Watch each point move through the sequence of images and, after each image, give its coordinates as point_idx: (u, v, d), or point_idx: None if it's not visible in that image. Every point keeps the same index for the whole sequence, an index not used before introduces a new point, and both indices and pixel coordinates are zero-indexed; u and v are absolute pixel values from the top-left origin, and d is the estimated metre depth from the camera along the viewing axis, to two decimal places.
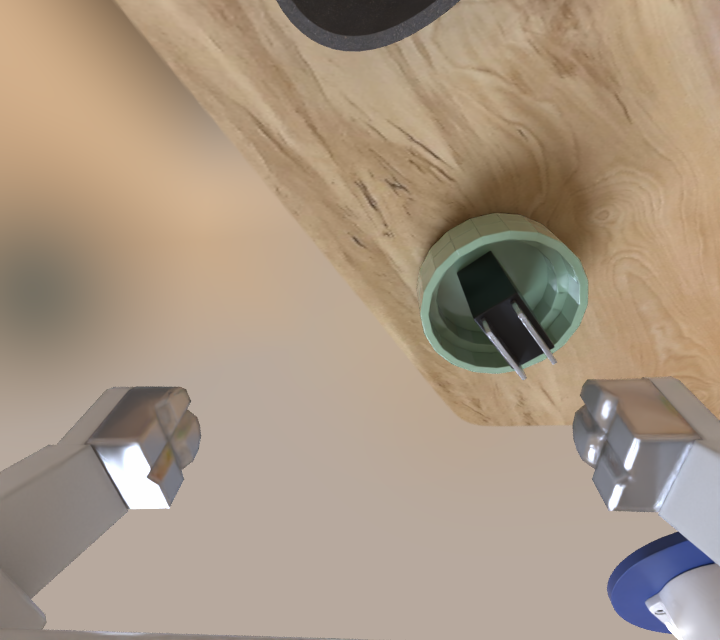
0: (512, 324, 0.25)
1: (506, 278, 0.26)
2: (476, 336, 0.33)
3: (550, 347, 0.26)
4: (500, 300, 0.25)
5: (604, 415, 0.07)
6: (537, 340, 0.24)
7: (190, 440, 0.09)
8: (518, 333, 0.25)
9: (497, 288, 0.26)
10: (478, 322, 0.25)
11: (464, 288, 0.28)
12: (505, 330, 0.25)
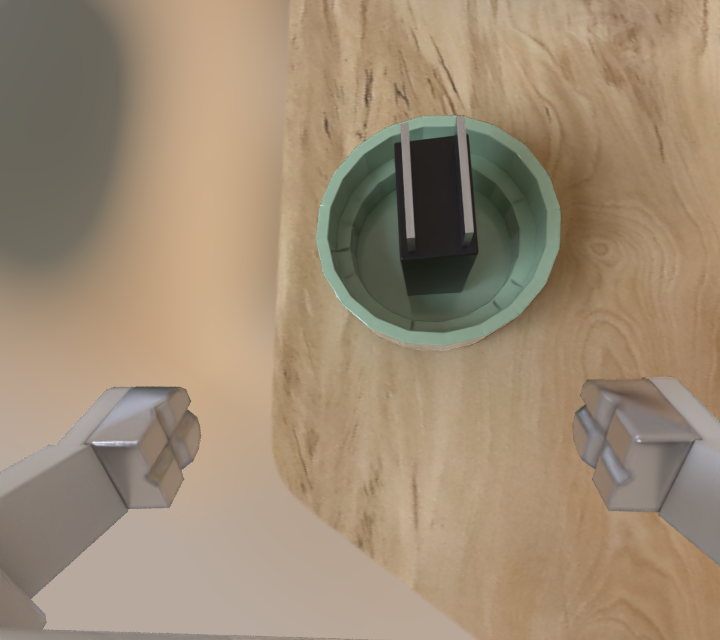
0: (439, 178, 0.16)
1: None
2: None
3: (471, 248, 0.15)
4: (442, 139, 0.16)
5: (604, 415, 0.07)
6: (463, 173, 0.14)
7: (190, 440, 0.09)
8: (439, 198, 0.16)
9: None
10: (397, 150, 0.16)
11: None
12: (424, 183, 0.16)
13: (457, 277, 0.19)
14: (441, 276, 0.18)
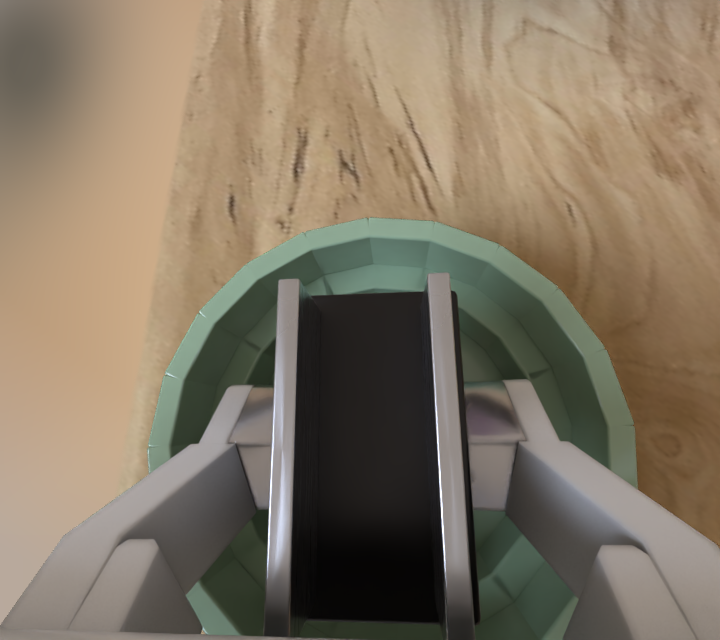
0: (384, 397, 0.07)
1: None
2: None
3: None
4: (396, 294, 0.07)
5: None
6: (444, 450, 0.05)
7: None
8: (383, 450, 0.06)
9: None
10: None
11: None
12: (350, 407, 0.07)
13: None
14: None
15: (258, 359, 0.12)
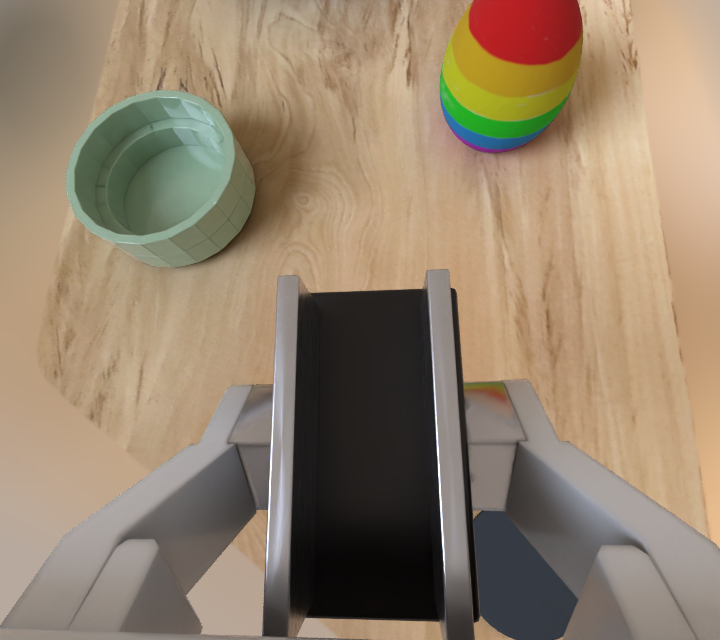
0: (383, 395, 0.07)
1: None
2: (127, 228, 0.28)
3: None
4: (396, 292, 0.07)
5: None
6: (444, 447, 0.05)
7: None
8: (383, 447, 0.06)
9: None
10: None
11: None
12: (349, 404, 0.07)
13: None
14: None
15: (120, 156, 0.29)
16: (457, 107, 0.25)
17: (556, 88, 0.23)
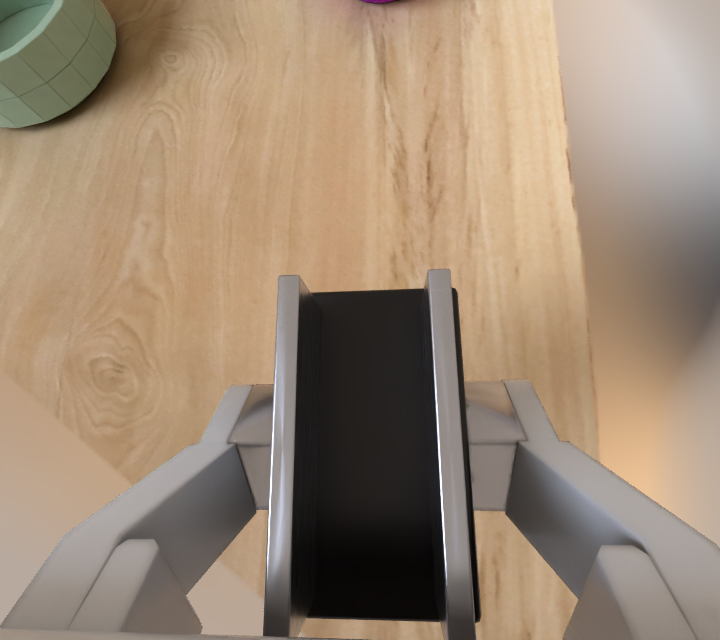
0: (384, 394, 0.07)
1: None
2: None
3: None
4: (397, 291, 0.07)
5: None
6: (445, 447, 0.05)
7: None
8: (383, 447, 0.06)
9: None
10: None
11: None
12: (350, 404, 0.07)
13: None
14: None
15: None
16: None
17: None
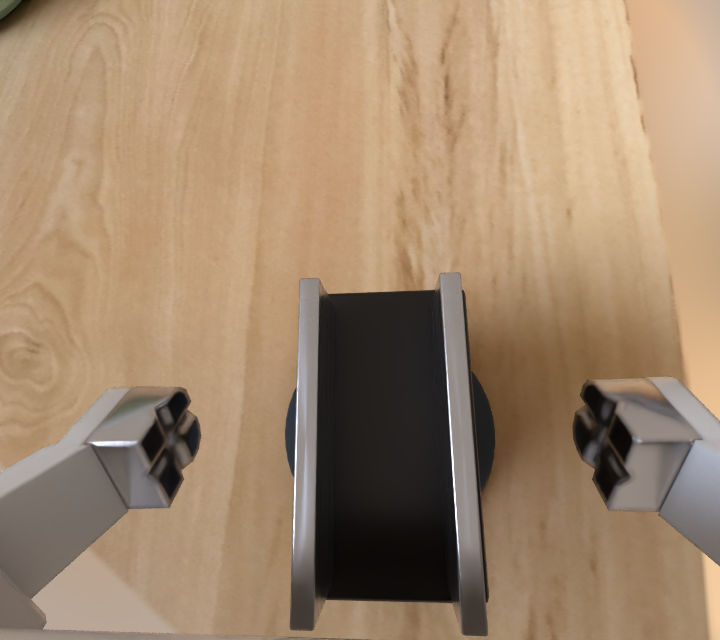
0: (396, 390, 0.07)
1: None
2: None
3: None
4: (407, 293, 0.08)
5: (604, 415, 0.07)
6: (457, 437, 0.05)
7: (190, 440, 0.09)
8: (396, 440, 0.07)
9: None
10: None
11: None
12: (364, 400, 0.07)
13: None
14: None
15: None
16: None
17: None
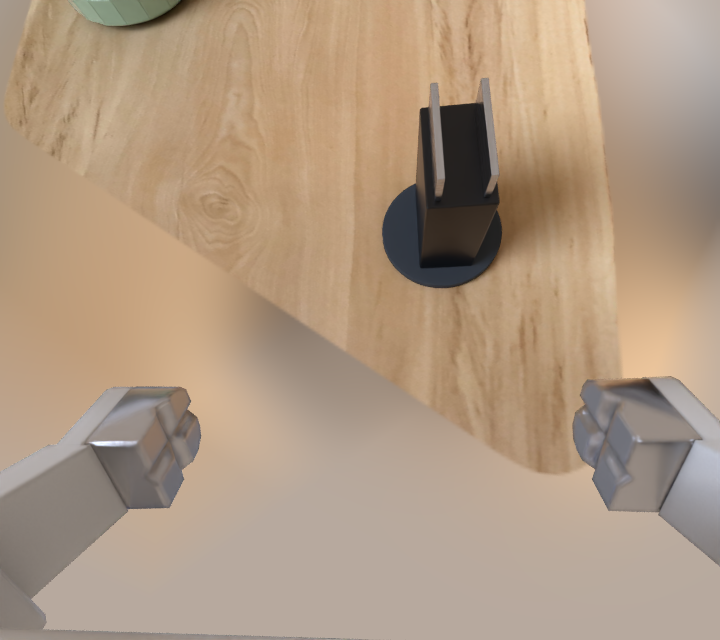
0: (461, 138, 0.17)
1: None
2: None
3: (493, 198, 0.17)
4: (463, 107, 0.18)
5: (604, 415, 0.07)
6: (488, 125, 0.16)
7: (190, 440, 0.09)
8: (462, 155, 0.17)
9: None
10: (423, 114, 0.18)
11: None
12: (449, 143, 0.17)
13: (472, 240, 0.20)
14: (458, 237, 0.20)
15: None
16: None
17: None
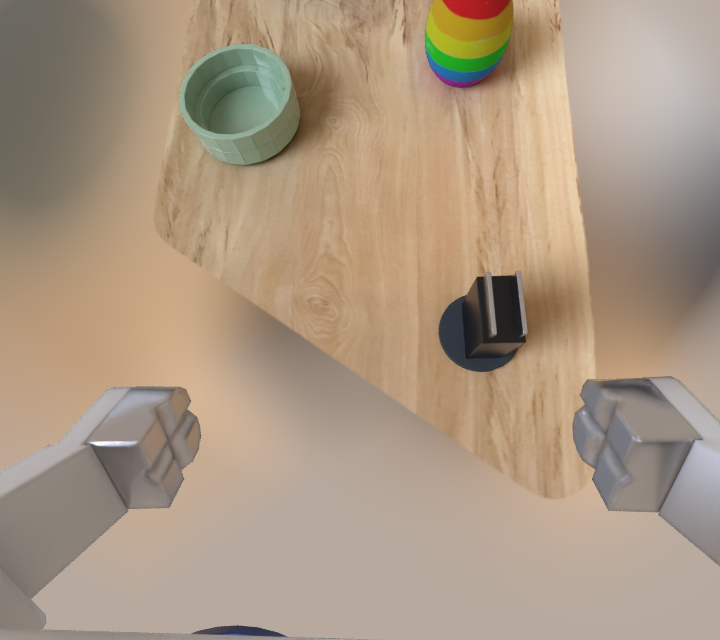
0: (502, 299, 0.29)
1: None
2: None
3: (522, 339, 0.28)
4: (503, 276, 0.30)
5: (604, 415, 0.07)
6: (521, 302, 0.27)
7: (190, 440, 0.09)
8: (503, 310, 0.29)
9: None
10: (478, 281, 0.29)
11: None
12: (495, 301, 0.29)
13: (505, 351, 0.31)
14: (496, 350, 0.31)
15: (208, 90, 0.42)
16: (435, 51, 0.39)
17: (496, 35, 0.36)
